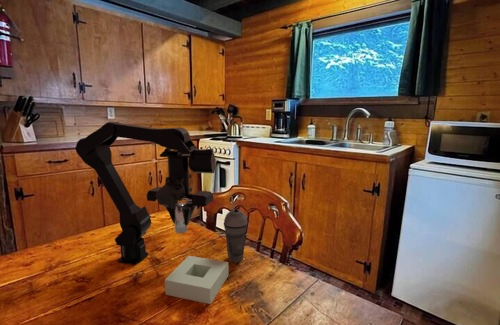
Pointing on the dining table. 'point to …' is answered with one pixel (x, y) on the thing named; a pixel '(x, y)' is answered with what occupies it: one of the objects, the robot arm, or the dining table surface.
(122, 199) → the robot arm
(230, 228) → the beverage cup
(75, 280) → the dining table surface
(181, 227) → the peg
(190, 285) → the socket block
